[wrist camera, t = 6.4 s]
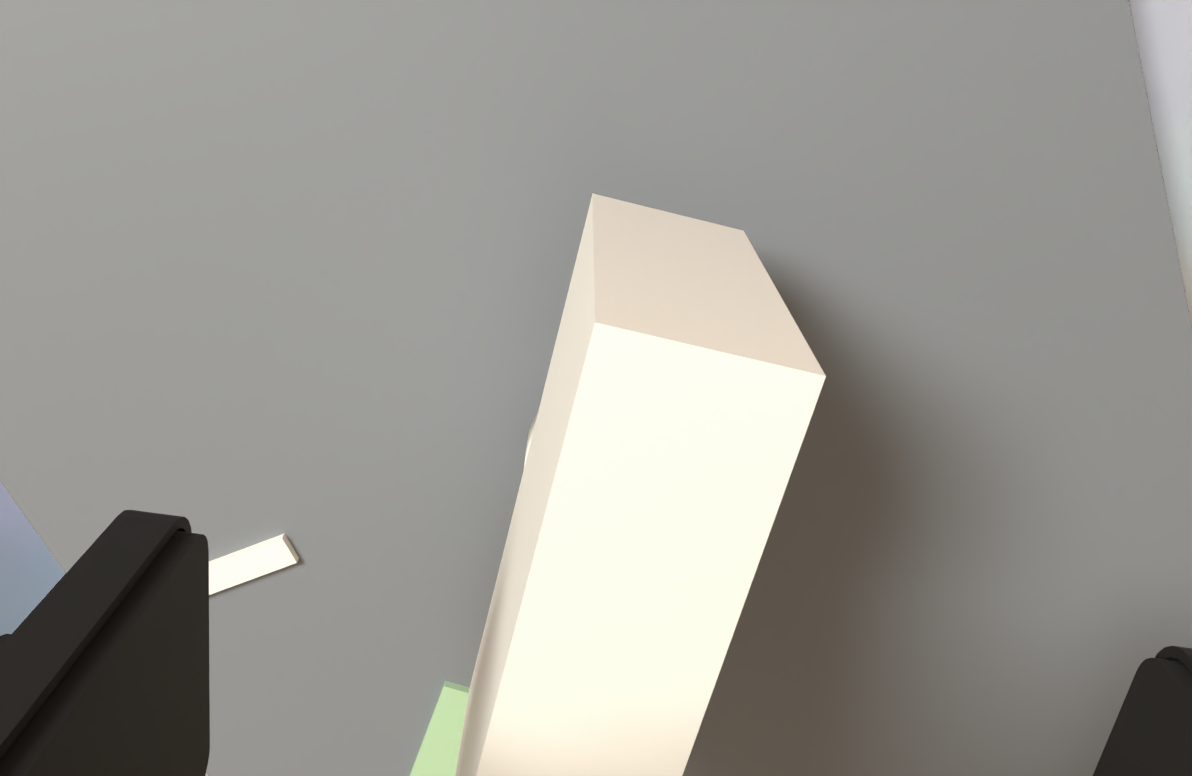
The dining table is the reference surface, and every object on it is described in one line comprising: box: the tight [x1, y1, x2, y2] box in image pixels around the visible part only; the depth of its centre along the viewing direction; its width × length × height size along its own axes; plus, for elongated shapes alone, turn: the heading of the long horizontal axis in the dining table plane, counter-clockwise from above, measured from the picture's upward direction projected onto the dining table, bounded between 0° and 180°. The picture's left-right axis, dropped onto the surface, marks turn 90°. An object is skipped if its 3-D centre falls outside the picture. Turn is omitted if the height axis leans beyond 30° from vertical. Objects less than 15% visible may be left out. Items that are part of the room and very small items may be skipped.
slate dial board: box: [0, 0, 1192, 776], centre depth 17 cm, size 18×20×2 cm
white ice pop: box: [455, 193, 826, 776], centre depth 14 cm, size 12×2×6 cm, turn 166°
